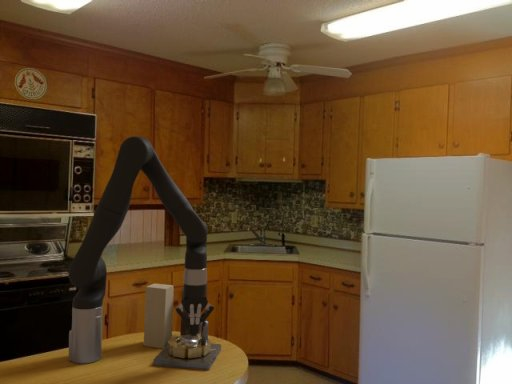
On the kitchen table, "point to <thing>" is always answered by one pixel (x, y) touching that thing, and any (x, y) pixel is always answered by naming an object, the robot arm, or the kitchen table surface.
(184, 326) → the candle
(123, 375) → the kitchen table surface
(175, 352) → the tan block ring
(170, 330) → the light grey tall block
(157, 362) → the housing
